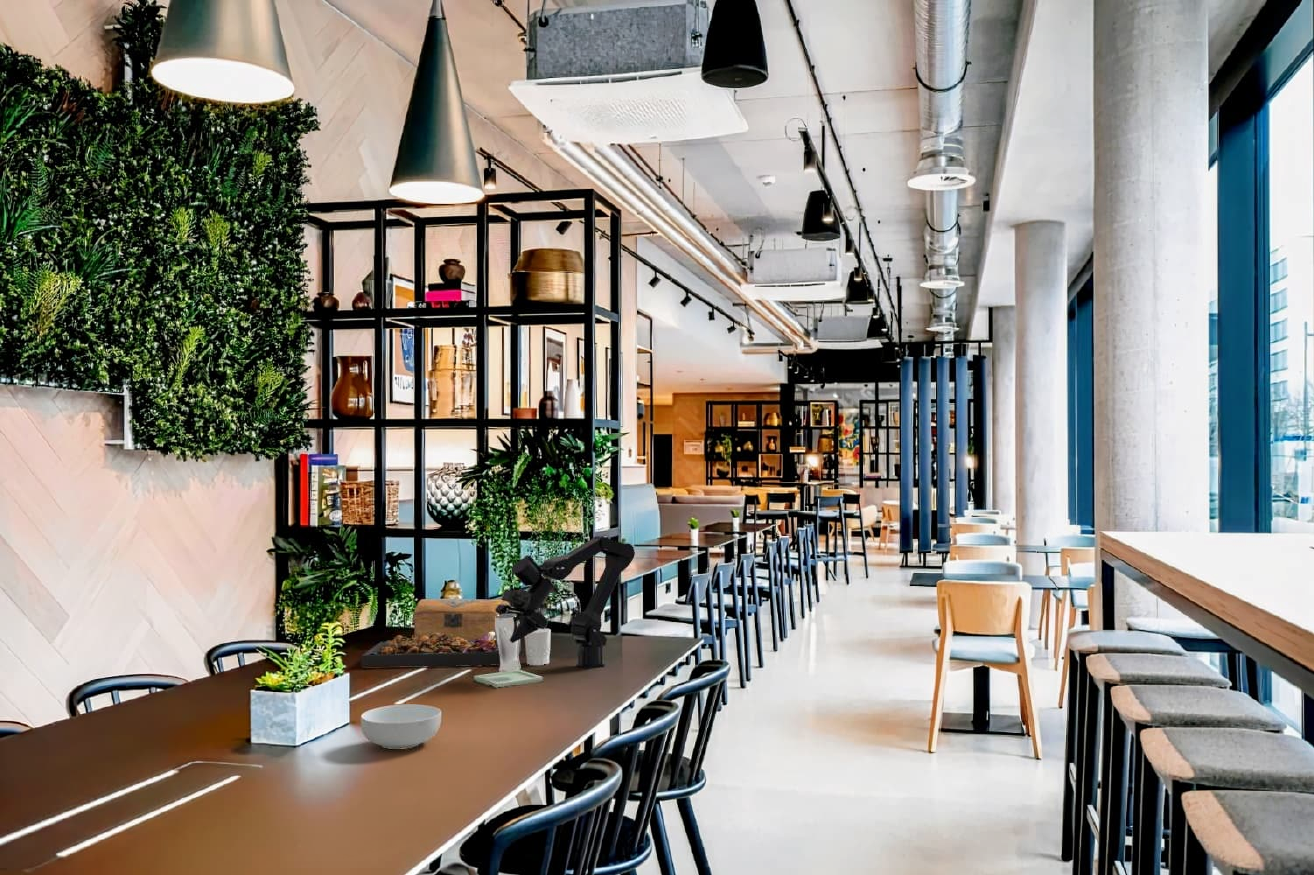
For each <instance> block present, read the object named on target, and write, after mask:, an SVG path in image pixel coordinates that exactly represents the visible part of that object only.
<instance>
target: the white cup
mask: <svg viewBox="0 0 1314 875" xmlns="http://www.w3.org/2000/svg"><path fill="white" fill-rule="evenodd" d="M537 628H538V627H537ZM551 631H552V630H551V629H550V628H547V627H545V629H539V628H538V630H537V631H534V632H532V633H530V634H528V635H526V636H524V645H525V646H524V647H525V656H526V664H527V665H528V664H529V665H528V666H545V665H544V664H546V665H549V664H550V654H551V633H552V632H551Z"/></svg>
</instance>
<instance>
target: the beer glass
mask: <svg viewBox="0 0 1314 875" xmlns="http://www.w3.org/2000/svg"><path fill="white" fill-rule="evenodd" d="M519 623H520V619H519V617H518V614H502V615H497V616H495V638H496V643H497V647H498V651H499V657H500V662H499V666H498V671H499V672H513V671H517V670H522V669H521V668H522V667H521V666H522V665H521V663H520V656H519V654H520V653H519V643H520V639H519V640H517V641H516V642H514V643H512V642H511V641H510V639H511V637H512V635H513V634H514V632H515V630H516V629H517V627H518V625H519Z"/></svg>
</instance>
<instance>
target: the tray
mask: <svg viewBox="0 0 1314 875" xmlns="http://www.w3.org/2000/svg"><path fill="white" fill-rule="evenodd" d="M475 680H476V681H475ZM473 681H475V682H478V683H481V684H483V683H484V684H483V685H487V686H489V685H492V686H494V687H493V688H495V687H497V688H496V689H499V688H498V687H503V688H505V687H504V686H509V687H511V686H510V685H516V686H520V685H521V686H522V685H528V684H534V683H540V682H541V681H542V682H544V677H543V676H541V675H537V674H534V673H531V672H528V671H524V670H522V669H520V670H517V671H513V672H501V671H499V672H492V673H487V674H485V673H484V674H478V675H473ZM542 682H541V683H542ZM492 686H491V687H492Z"/></svg>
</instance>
